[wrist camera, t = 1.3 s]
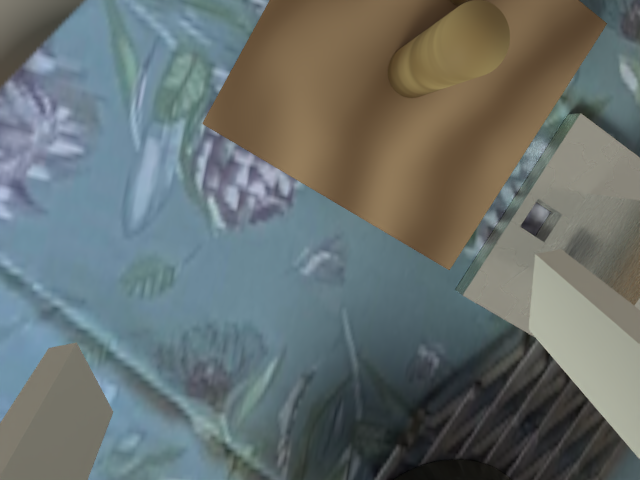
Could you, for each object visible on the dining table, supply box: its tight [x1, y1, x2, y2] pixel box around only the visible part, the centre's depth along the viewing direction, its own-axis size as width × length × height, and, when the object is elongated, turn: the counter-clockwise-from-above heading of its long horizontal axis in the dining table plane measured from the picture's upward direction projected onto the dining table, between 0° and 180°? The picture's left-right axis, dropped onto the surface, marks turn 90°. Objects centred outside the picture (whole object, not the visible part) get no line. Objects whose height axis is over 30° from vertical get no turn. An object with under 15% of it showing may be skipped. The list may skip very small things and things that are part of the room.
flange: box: [455, 113, 640, 338], centre depth 27 cm, size 14×14×9 cm
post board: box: [202, 0, 607, 270], centre depth 23 cm, size 18×18×10 cm
